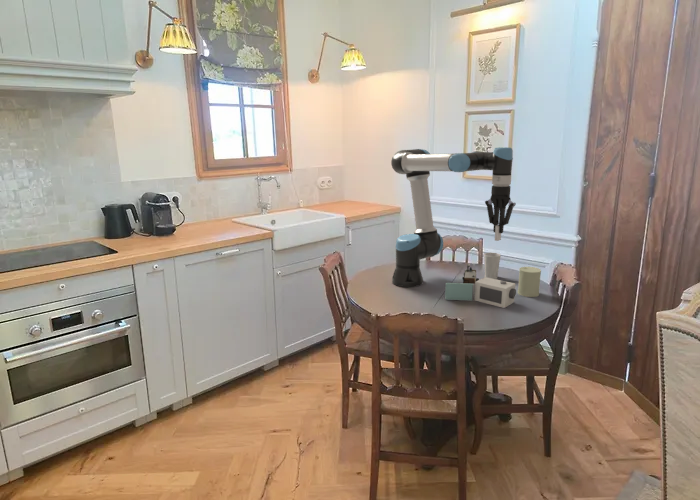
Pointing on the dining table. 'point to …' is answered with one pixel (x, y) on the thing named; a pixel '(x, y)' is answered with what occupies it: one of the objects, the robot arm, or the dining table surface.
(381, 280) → the dining table surface
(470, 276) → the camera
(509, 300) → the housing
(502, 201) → the robot arm
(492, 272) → the cup
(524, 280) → the can
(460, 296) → the side door
